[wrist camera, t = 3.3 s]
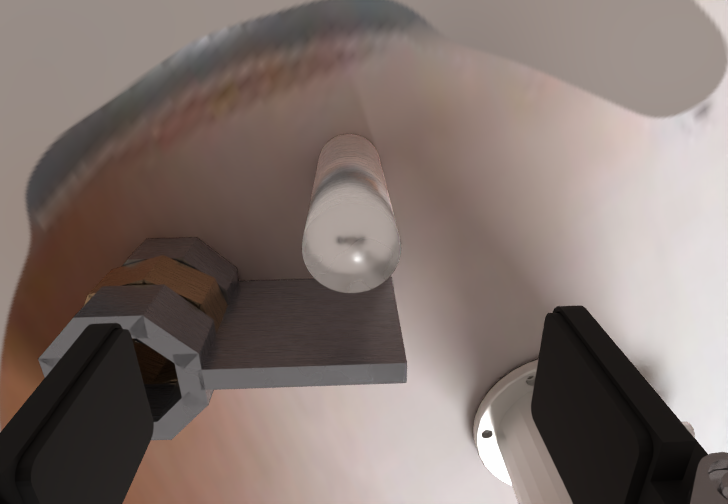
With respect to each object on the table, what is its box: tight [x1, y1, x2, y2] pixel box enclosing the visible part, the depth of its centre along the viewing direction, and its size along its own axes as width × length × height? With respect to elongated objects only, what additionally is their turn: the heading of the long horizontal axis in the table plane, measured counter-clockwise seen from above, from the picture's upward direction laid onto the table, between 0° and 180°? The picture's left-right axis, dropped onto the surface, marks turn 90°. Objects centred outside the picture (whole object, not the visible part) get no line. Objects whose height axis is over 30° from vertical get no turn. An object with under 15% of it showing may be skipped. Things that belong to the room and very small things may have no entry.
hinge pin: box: [302, 134, 401, 293], centre depth 24 cm, size 4×4×12 cm
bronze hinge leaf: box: [84, 255, 228, 384], centre depth 30 cm, size 17×7×9 cm, turn 151°
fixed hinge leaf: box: [38, 238, 407, 440], centre depth 28 cm, size 17×7×9 cm, turn 91°
